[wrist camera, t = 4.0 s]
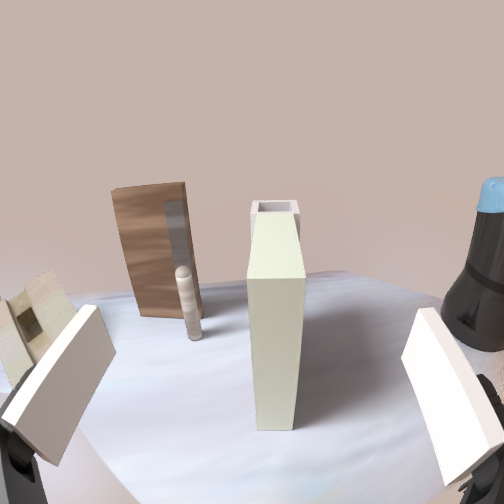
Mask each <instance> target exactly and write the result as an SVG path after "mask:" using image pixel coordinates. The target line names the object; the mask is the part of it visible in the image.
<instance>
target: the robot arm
mask: <svg viewBox="0 0 504 504" xmlns="http://www.w3.org/2000/svg"><path fill="white" fill-rule="evenodd" d="M441 316H442V319H441V318H440V316H439V315H438V313H437V312H436V310H435V309H434V307H431V308H420V309H418V311H417V314H416V317H415V321H414V324H413V326H412V329H411V332H410V335H409V338H408V341H407V343H406V346H405V349H404V351H403V354H402V356H401V359H402V361H403V364H404V366H405V369H406V371H407V374H408V376H409V379H410V381H411V384H412V386H413V389H414V392H415V394H416V397H417V400H418V402H419V405H420V408H421V410H422V413H423V416H424V419H425V422H426V425H427V428H428V431H429V434H430V437H431V440H432V443H433V446H434V449H435V453H436V456H437V459H438V463H439V466H440V470H441V474H442V477H443V481H444V485H445V486H447V485H450V484H453V483H455V482H458V481H460V480H462V479H464V478H465V477H466V476H467V475H469V474H470V473H472V476H473V477H472V478H471V479H470V480H468V481H467V482H466V483H464V484H463V485H462V486H461V487H460V488H459V490H458V491H459V492H460V491H462V490H463V489H465V488H466V487H467V489H466V490H465V491H464V492H463V493H464V496H463V498H462V500H461V502H460V504H504V405H503V403H501V399H500V397H499V395H497V392H496V390H495V388H494V386H493V384H492V383H491V381H489V380H488V379H487V378H486V377H485V376H484V375H483V374H479V375H475V373H474V371H473V369H472V368H471V366H470V364H469V362H468V361H467V359H466V357H465V356H464V354H463V352H462V351H461V349H460V347H459V346H458V344H457V342H456V341H455V339H454V338H453V336H452V334H453V335H454V336H455V337H456V338H458V339H459V340H460V341H462V342H463V343H465V344H467V345H469V346H471V347H473V348H476V349H479V350H483V351H491V352H492V351H500V350H503V349H504V177H490V178H488V179H486V180H485V181H484V183H483V185H482V189H481V194H480V199H479V204H478V205H477V217H476V222H475V227H474V232H473V236H472V240H471V244H470V248H469V252H468V256H467V260H466V264H465V267H464V269H463V271H462V272H461V274H460V275H459V277H458V278H457V280H456V281H455V282H454V284H453V285H452V287H451V288H450V290H449V291H448V292H447V294H446V296H445V299H444V302H443V305H442V308H441ZM442 320H443V321H442ZM450 332H451V333H452V334H451V333H450ZM115 354H116V351H115V349H114V346H113V344H112V341H111V339H110V337H109V334H108V332H107V329H106V326H105V324H104V321H103V318H102V316H101V313H100V310H99V307H98V306H95V305H85V304H84V306H83V307H82V308H81V309H80V310H79V312H78V313H77V314H76V315H75V316H74V318H73V319H72V320H71V321H70V323H69V324H68V325H67V326H66V328H65V329H64V330H63V331H62V333H61V334H60V335H59V336H58V338H57V339H56V340H55V341H54V343H53V344H52V345H51V347H50V348H49V349H48V351H47V352H46V353H45V355H44V356H43V357H42V359H41V360H40V361H39V363H38V364H34V365H33V366H32V367H31V368H29V369H28V370H27V371H26V372H25V373H24V375H23V376H22V377H21V379H20V382H18V383H17V385H16V386H15V389H13V390H12V392H11V393H10V395H9V396H8V398H7V399H6V401H5V402H4V404H3V405H2V407H1V408H0V504H48V502H47V499H46V496H45V492H44V489H43V485H42V481H41V477H40V473H39V469H38V465H37V461H36V459H35V457H34V456H33V455H34V453H35V452H36V453H37V454H38V455H39V456H40V457H41V458H42V459H43V460H45V461H47V462H49V463H51V464H53V465H55V466H57V467H58V465H59V463H60V461H61V458H62V456H63V454H64V452H65V450H66V448H67V446H68V444H69V441H70V439H71V437H72V435H73V433H74V431H75V429H76V427H77V425H78V423H79V421H80V419H81V417H82V415H83V413H84V411H85V409H86V407H87V405H88V404H89V402H90V400H91V398H92V396H93V394H94V392H95V390H96V388H97V387H98V385H99V383H100V381H101V379H102V377H103V376H104V374H105V372H106V370H107V368H108V366H109V365H110V363H111V361H112V359H113V358H114V356H115Z"/></svg>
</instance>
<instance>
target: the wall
mask: <svg viewBox="0 0 504 504" xmlns="http://www.w3.org/2000/svg"><path fill="white" fill-rule="evenodd" d="M24 288H25V291H23V292H22V293H20V294H19V295H18V296H17V297H14V299H12V300H10V301H9V302H8V301H6V300H5V299H3V300H2V301H1V302H0V360H1V362H2V365H3V366H4V370H5V372H6V374H7V377H8V379H9V381H10V383H11V386H12V388H13V389H15V386H16V385H17V383H18V382H20V379H21V377H22V376H23V375H24V373H25V372H26V371H27V370H28V369H29V368H31V367H32V366H33V365H34V364H38V363H39V361H40V360H41V359H42V357H43V356H44V355H45V353H46V352H47V351H48V349H49V348H50V347H51V345H52V344H53V343H54V341H55V340H56V339H57V338H58V336H59V335H60V334H61V333H62V331H63V330H64V329H65V328H66V326H67V325H68V324H69V323H70V321H71V320H72V319H73V318H74V316H75V315H76V314H77V311H76V310H75V308H74V306H73V304H72V303H71V301H70V300H69V299H68V297H67V295H66V293H65V292H64V291H63V289H62V287H61V285H60V283H59V281H58V280H57V278H56V276H55V274H54V273H53V272H52V269H49V270H47V271H46V272H44V273H43V274H41V275H40V276H38V277H36V278H35V279H33V280H31V281H30V282H29V283H28V284H25V285H24Z"/></svg>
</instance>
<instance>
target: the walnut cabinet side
mask: <svg viewBox="0 0 504 504" xmlns="http://www.w3.org/2000/svg"><path fill="white" fill-rule="evenodd" d="M111 194H112V200H113V206H114V211H115V216H116V221H117V226H118V231H119V235H120V239H121V244H122V248H123V252H124V257H125V261H126V264H127V269H128V272H129V276H130V280H131V283H132V287H133V291H134V294H135V298H136V301H137V304H138V308H139V311H140V314H141V316H147V317H162V318H180V319H185V324H186V328H187V332H188V336H189V339H190V340H192V341H198V340H200V339H202V337H203V334H202V329H201V323H200V319H202V316H203V308H202V302H201V296H200V290H199V284H198V277H197V271H196V265H195V258H194V251H193V244H192V236H191V230H190V222H189V213H188V205H187V197H186V188H185V182H175V183H163V184H154V185H153V184H152V185H142V186H133V187H124V188H117V189H115V190H113V191H111Z"/></svg>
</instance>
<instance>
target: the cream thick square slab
mask: <svg viewBox="0 0 504 504" xmlns="http://www.w3.org/2000/svg"><path fill="white" fill-rule="evenodd" d="M250 221H251V241H252V248H251V255H250V260H249V267H248V273H247V294H248V309H249V324H250V339H251V353H252V367H253V382H254V396H255V409H256V423H257V430H266V431H282V430H292V428H293V420H294V412H295V403H296V394H297V385H298V375H299V365H300V354H301V342H302V330H303V316H304V301H305V284H306V276H305V271H304V266H303V260H302V256H301V250H300V244H299V242H300V212H299V208H298V205H297V201H296V200H271V201H270V200H268V201H267V200H266V201H265V200H264V201H253V204H252V208H251V213H250Z"/></svg>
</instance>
